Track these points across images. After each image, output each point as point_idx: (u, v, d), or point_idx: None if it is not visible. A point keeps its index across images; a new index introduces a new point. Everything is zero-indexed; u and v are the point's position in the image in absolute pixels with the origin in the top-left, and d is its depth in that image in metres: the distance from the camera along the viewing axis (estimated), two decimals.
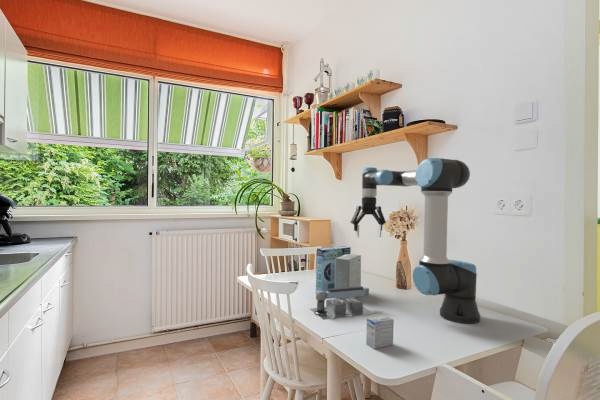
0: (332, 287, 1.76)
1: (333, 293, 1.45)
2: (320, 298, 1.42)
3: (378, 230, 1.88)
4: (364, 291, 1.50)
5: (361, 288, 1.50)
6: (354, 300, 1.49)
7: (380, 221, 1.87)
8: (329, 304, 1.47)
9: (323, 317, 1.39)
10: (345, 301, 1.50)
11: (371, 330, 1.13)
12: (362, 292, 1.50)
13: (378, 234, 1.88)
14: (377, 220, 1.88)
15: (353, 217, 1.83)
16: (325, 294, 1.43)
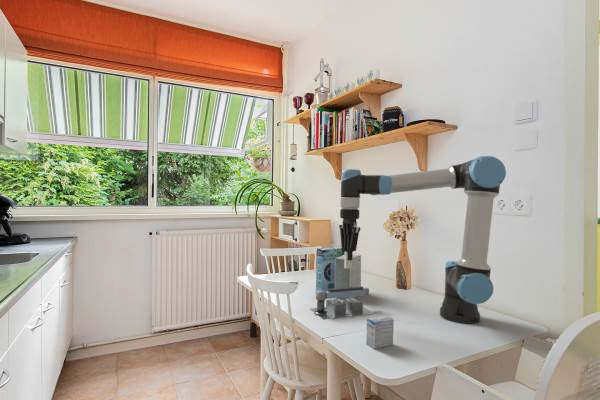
0: (332, 287, 1.76)
1: (333, 293, 1.45)
2: (320, 298, 1.42)
3: None
4: (364, 291, 1.50)
5: (361, 288, 1.50)
6: (354, 300, 1.49)
7: (347, 246, 1.38)
8: (329, 304, 1.47)
9: (323, 317, 1.39)
10: (345, 301, 1.50)
11: (371, 330, 1.13)
12: (362, 292, 1.50)
13: None
14: None
15: None
16: (325, 294, 1.43)
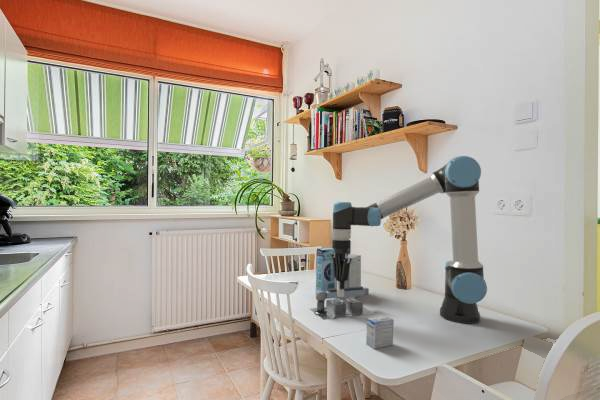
0: (332, 287, 1.76)
1: (333, 293, 1.45)
2: (320, 298, 1.42)
3: None
4: (364, 291, 1.50)
5: (361, 288, 1.50)
6: (354, 300, 1.49)
7: (339, 276, 1.44)
8: (329, 304, 1.47)
9: (323, 317, 1.39)
10: (345, 301, 1.50)
11: (371, 330, 1.13)
12: (362, 292, 1.50)
13: None
14: None
15: None
16: (325, 294, 1.43)
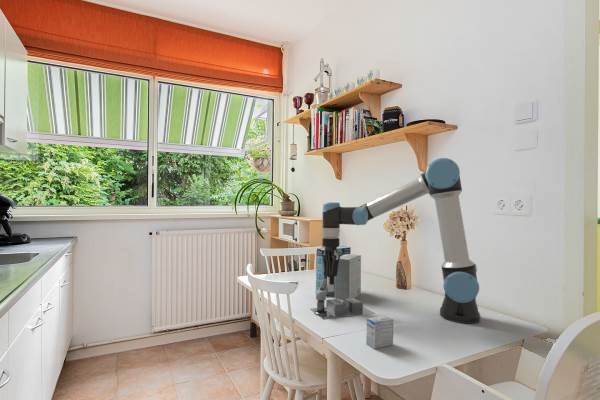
0: None
1: (325, 290, 1.49)
2: (324, 298, 1.43)
3: None
4: None
5: None
6: (354, 300, 1.49)
7: (329, 272, 1.52)
8: (329, 304, 1.47)
9: (323, 317, 1.39)
10: (345, 301, 1.50)
11: (371, 330, 1.13)
12: None
13: None
14: None
15: None
16: None
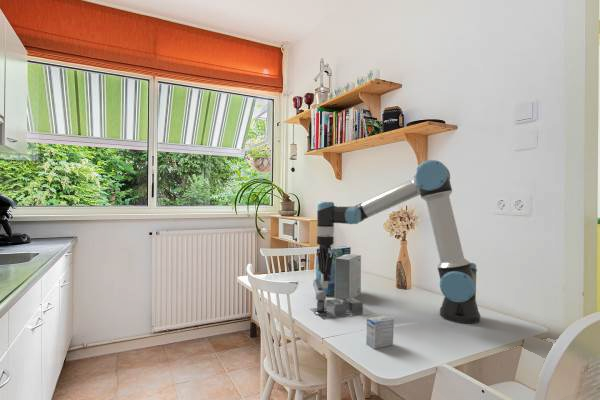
0: (332, 287, 1.76)
1: (323, 290, 1.49)
2: (325, 297, 1.43)
3: None
4: None
5: (318, 280, 1.63)
6: (354, 300, 1.49)
7: (323, 269, 1.58)
8: (329, 304, 1.47)
9: (323, 317, 1.39)
10: (345, 301, 1.50)
11: (371, 330, 1.13)
12: None
13: None
14: None
15: None
16: None
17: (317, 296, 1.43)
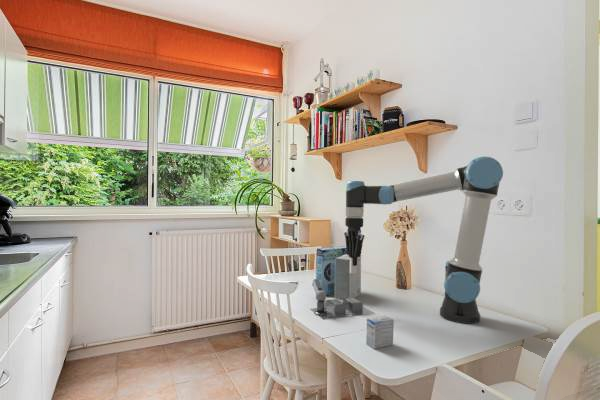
0: (332, 287, 1.76)
1: (322, 290, 1.49)
2: (325, 297, 1.43)
3: None
4: None
5: None
6: (354, 300, 1.49)
7: (352, 252, 1.48)
8: (329, 304, 1.47)
9: (323, 317, 1.39)
10: (345, 301, 1.50)
11: (371, 330, 1.13)
12: None
13: None
14: None
15: None
16: None
17: (317, 296, 1.43)
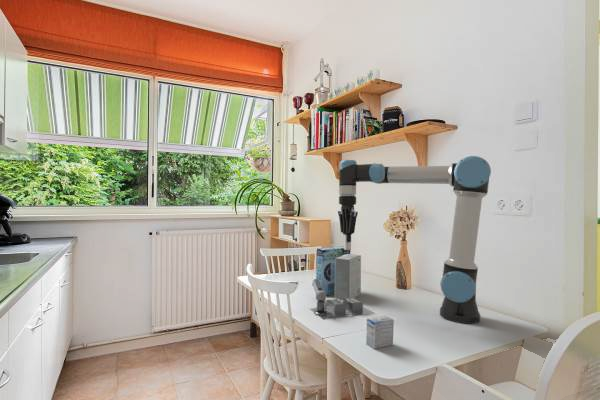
0: (332, 287, 1.76)
1: (322, 290, 1.49)
2: (325, 297, 1.43)
3: None
4: None
5: None
6: (354, 300, 1.49)
7: (346, 229, 1.53)
8: (329, 304, 1.47)
9: (323, 317, 1.39)
10: (345, 301, 1.50)
11: (371, 330, 1.13)
12: None
13: None
14: None
15: None
16: None
17: (317, 296, 1.43)
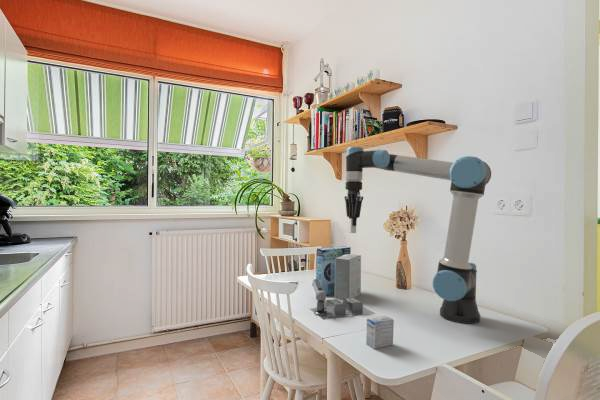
0: (332, 287, 1.76)
1: (322, 290, 1.49)
2: (325, 297, 1.43)
3: None
4: None
5: None
6: (354, 300, 1.49)
7: (352, 213, 1.59)
8: (329, 304, 1.47)
9: (323, 317, 1.39)
10: (345, 301, 1.50)
11: (371, 330, 1.13)
12: None
13: None
14: None
15: None
16: None
17: (317, 296, 1.43)
